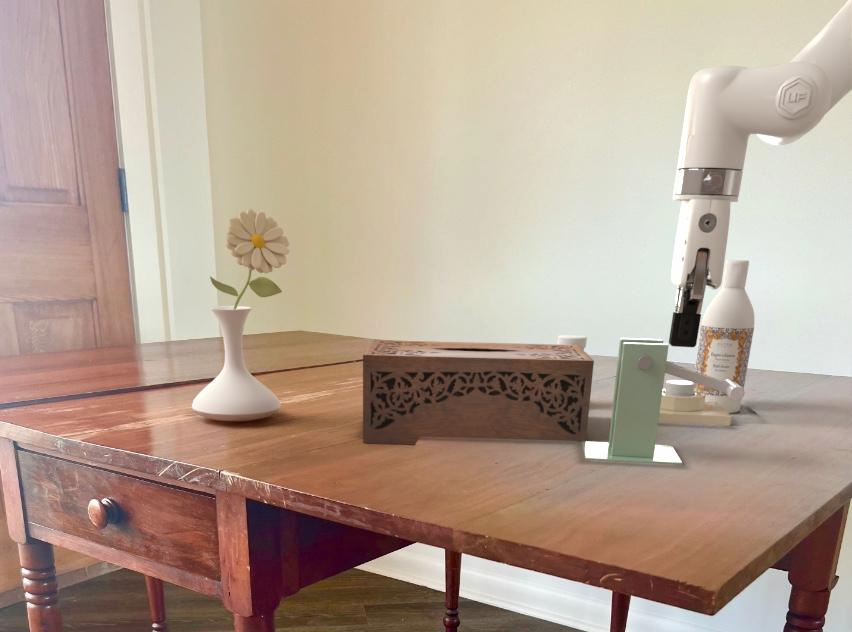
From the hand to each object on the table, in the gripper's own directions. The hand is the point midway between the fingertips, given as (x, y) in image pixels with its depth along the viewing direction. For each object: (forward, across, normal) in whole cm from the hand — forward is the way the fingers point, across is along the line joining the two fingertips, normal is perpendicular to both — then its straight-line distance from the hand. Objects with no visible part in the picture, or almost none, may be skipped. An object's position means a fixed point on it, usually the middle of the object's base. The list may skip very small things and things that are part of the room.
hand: (682, 345), depth 111 cm
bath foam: (+10, +11, -8) cm, 17 cm away
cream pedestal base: (+10, 0, -1) cm, 10 cm away
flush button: (+6, 0, -1) cm, 6 cm away
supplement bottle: (+10, +9, +13) cm, 19 cm away
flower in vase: (+11, -10, +55) cm, 57 cm away
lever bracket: (+10, -23, +7) cm, 26 cm away
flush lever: (+1, -23, +3) cm, 23 cm away
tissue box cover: (+11, -12, +25) cm, 30 cm away
